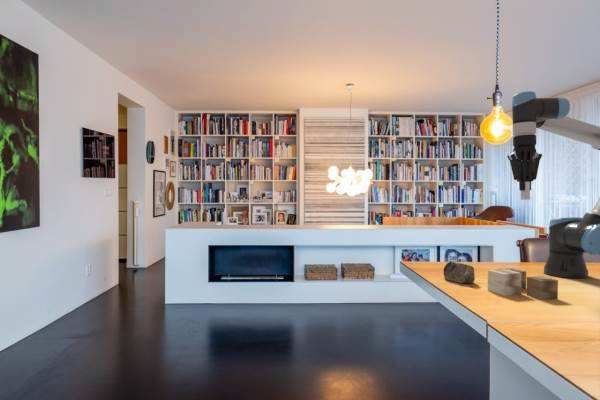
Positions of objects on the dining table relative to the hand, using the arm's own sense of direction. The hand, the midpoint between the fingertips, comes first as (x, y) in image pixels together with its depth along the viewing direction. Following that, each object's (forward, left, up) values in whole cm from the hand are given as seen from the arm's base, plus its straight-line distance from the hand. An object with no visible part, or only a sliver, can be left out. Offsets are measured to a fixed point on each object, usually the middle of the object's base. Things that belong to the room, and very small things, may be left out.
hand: (525, 199), depth 148 cm
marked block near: (+9, +6, -31) cm, 33 cm away
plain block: (+17, +13, -31) cm, 38 cm away
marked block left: (+9, +20, -31) cm, 38 cm away
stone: (+23, -5, -31) cm, 39 cm away
